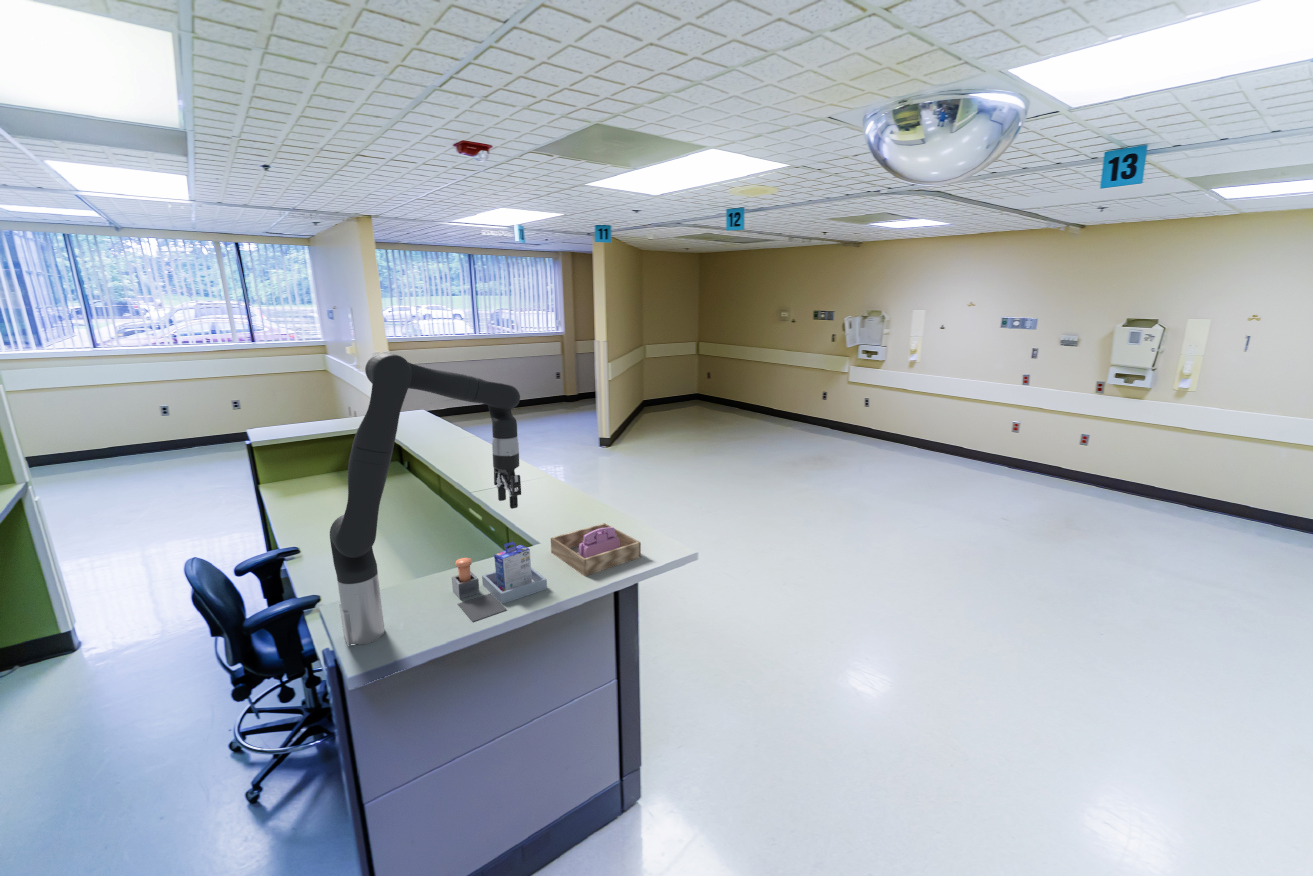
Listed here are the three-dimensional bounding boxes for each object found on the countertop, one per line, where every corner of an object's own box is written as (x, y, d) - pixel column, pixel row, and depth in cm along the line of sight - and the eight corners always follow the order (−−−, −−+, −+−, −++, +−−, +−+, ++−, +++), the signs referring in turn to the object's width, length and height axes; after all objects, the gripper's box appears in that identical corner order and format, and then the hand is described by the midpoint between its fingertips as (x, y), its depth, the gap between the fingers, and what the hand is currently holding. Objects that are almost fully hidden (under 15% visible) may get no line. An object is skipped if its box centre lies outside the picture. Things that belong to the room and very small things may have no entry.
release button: (460, 590, 165) (458, 565, 163) (455, 584, 169) (453, 560, 167) (475, 586, 168) (473, 561, 166) (470, 580, 171) (468, 556, 170)
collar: (501, 604, 162) (501, 593, 161) (482, 585, 173) (482, 575, 172) (547, 589, 171) (546, 579, 170) (526, 572, 182) (525, 562, 181)
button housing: (459, 600, 165) (458, 584, 164) (452, 592, 169) (451, 577, 168) (479, 593, 168) (478, 578, 167) (472, 586, 173) (471, 571, 172)
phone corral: (584, 577, 179) (584, 559, 178) (551, 553, 196) (550, 537, 195) (640, 558, 193) (640, 542, 191) (604, 538, 210) (604, 523, 209)
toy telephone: (611, 547, 202) (611, 521, 200) (621, 553, 197) (621, 527, 195) (569, 561, 191) (568, 533, 189) (578, 567, 186) (578, 539, 184)
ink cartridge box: (522, 579, 177) (520, 537, 174) (533, 585, 174) (531, 541, 171) (495, 590, 170) (492, 546, 167) (505, 596, 167) (503, 551, 164)
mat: (472, 622, 153) (472, 621, 153) (457, 605, 162) (457, 603, 162) (507, 610, 159) (507, 609, 159) (490, 594, 168) (490, 593, 168)
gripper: (484, 448, 167) (486, 500, 170) (503, 458, 156) (505, 513, 159) (507, 445, 171) (510, 495, 175) (528, 454, 160) (529, 508, 164)
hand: (507, 504), depth 167 cm, fingers open, 8 cm apart
